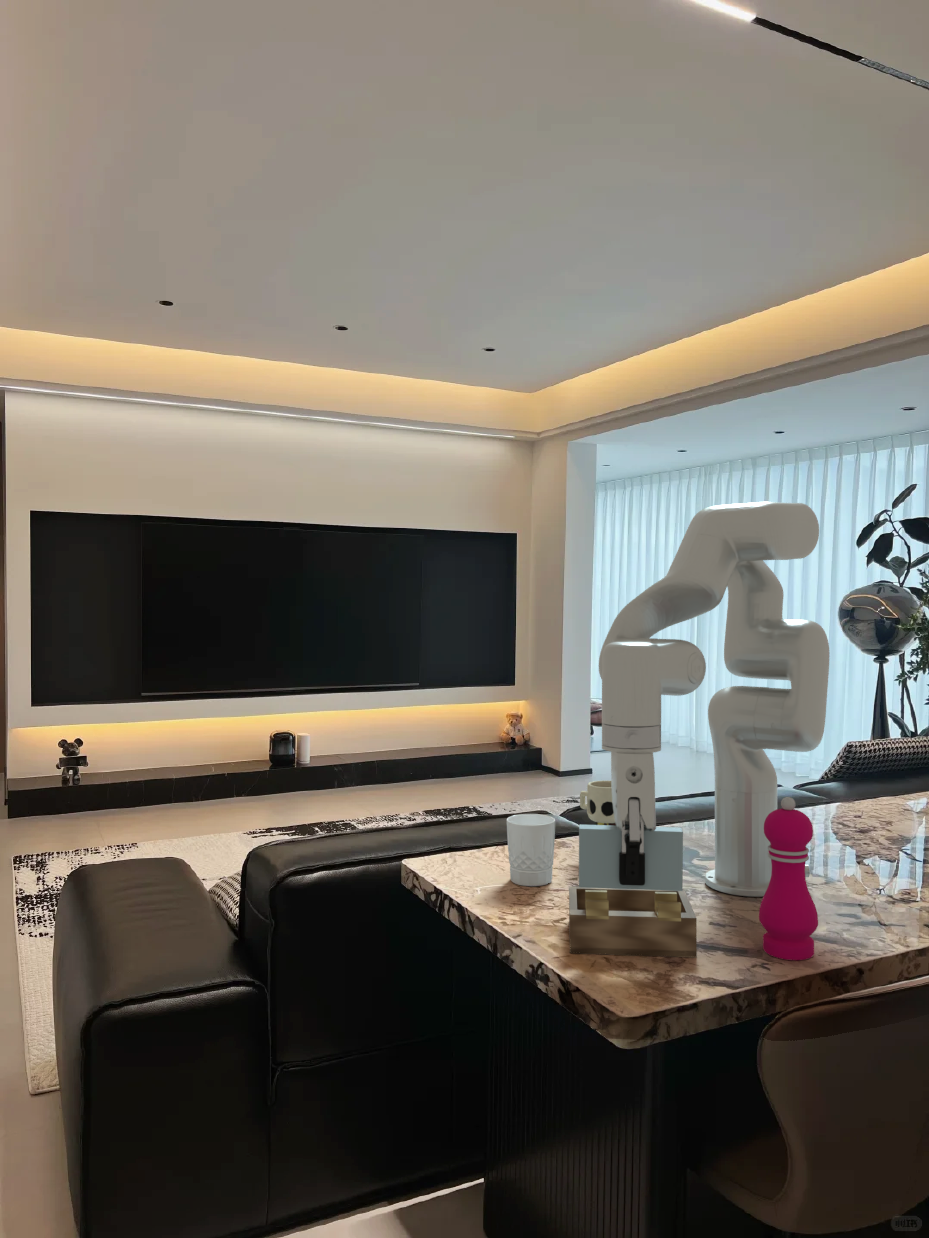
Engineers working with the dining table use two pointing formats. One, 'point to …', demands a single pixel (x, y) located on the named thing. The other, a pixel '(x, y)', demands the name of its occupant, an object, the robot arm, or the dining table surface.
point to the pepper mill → (788, 886)
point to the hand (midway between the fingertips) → (631, 879)
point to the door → (604, 847)
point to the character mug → (599, 802)
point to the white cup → (531, 848)
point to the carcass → (631, 922)
